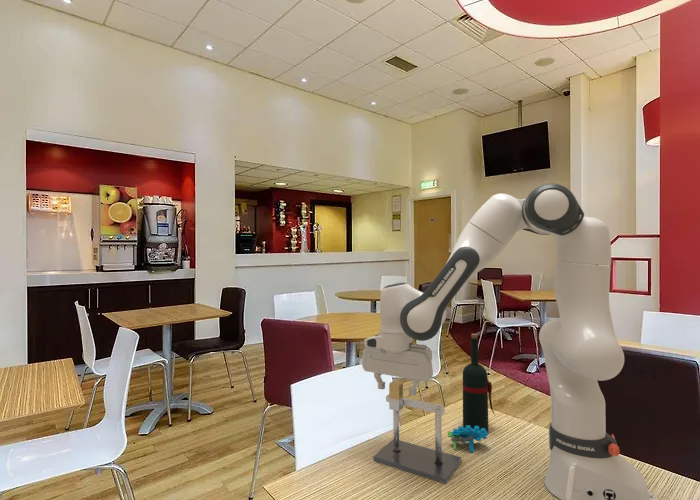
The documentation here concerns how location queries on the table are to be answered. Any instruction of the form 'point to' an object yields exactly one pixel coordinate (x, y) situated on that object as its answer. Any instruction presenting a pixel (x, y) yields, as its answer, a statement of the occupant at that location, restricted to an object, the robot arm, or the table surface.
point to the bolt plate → (418, 460)
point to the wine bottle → (476, 391)
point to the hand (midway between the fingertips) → (396, 391)
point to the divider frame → (439, 412)
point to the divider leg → (396, 407)
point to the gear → (467, 435)
